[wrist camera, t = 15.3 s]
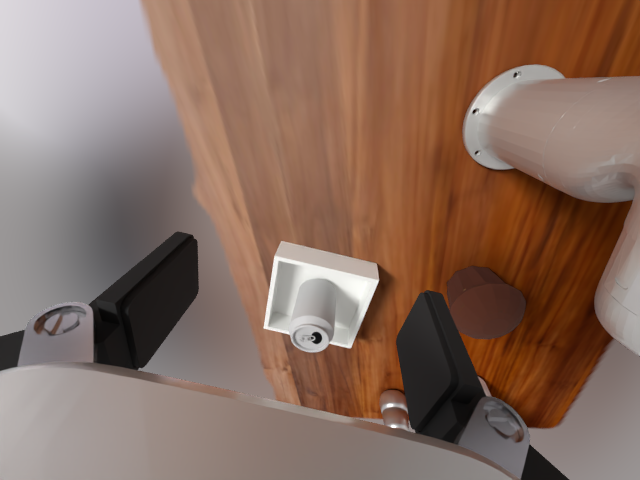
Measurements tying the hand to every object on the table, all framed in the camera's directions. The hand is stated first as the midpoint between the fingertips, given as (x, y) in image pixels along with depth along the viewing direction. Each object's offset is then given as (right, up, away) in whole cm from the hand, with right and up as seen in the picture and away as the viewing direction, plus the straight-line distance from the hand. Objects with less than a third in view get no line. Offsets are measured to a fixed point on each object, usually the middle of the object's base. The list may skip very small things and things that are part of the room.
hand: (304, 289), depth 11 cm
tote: (+1, -8, +43) cm, 44 cm away
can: (0, -8, +42) cm, 43 cm away
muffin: (+29, -6, +39) cm, 49 cm away
